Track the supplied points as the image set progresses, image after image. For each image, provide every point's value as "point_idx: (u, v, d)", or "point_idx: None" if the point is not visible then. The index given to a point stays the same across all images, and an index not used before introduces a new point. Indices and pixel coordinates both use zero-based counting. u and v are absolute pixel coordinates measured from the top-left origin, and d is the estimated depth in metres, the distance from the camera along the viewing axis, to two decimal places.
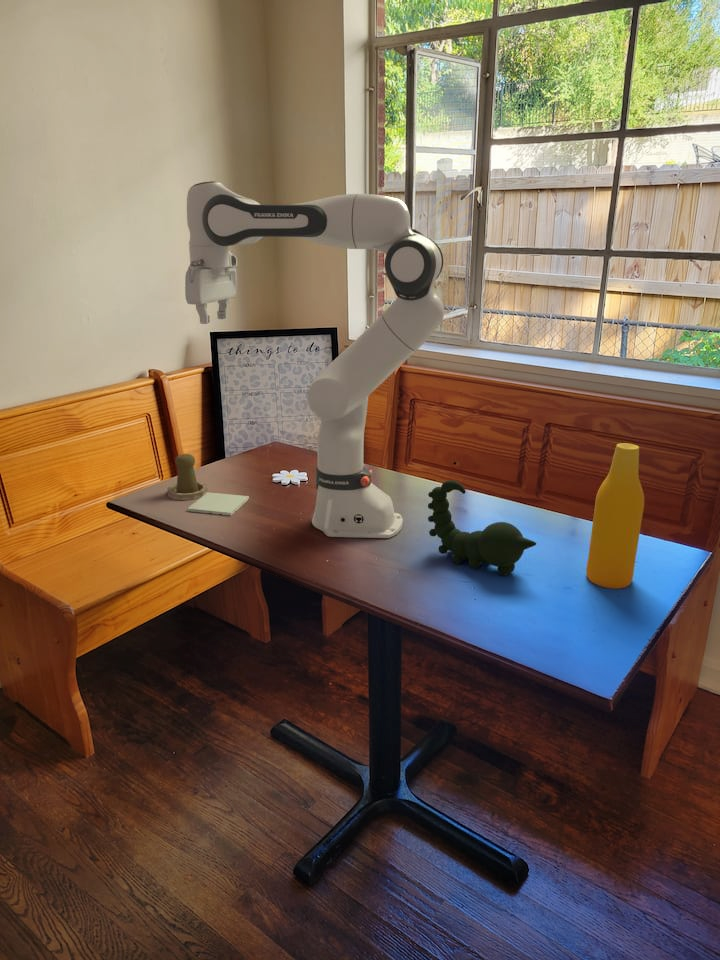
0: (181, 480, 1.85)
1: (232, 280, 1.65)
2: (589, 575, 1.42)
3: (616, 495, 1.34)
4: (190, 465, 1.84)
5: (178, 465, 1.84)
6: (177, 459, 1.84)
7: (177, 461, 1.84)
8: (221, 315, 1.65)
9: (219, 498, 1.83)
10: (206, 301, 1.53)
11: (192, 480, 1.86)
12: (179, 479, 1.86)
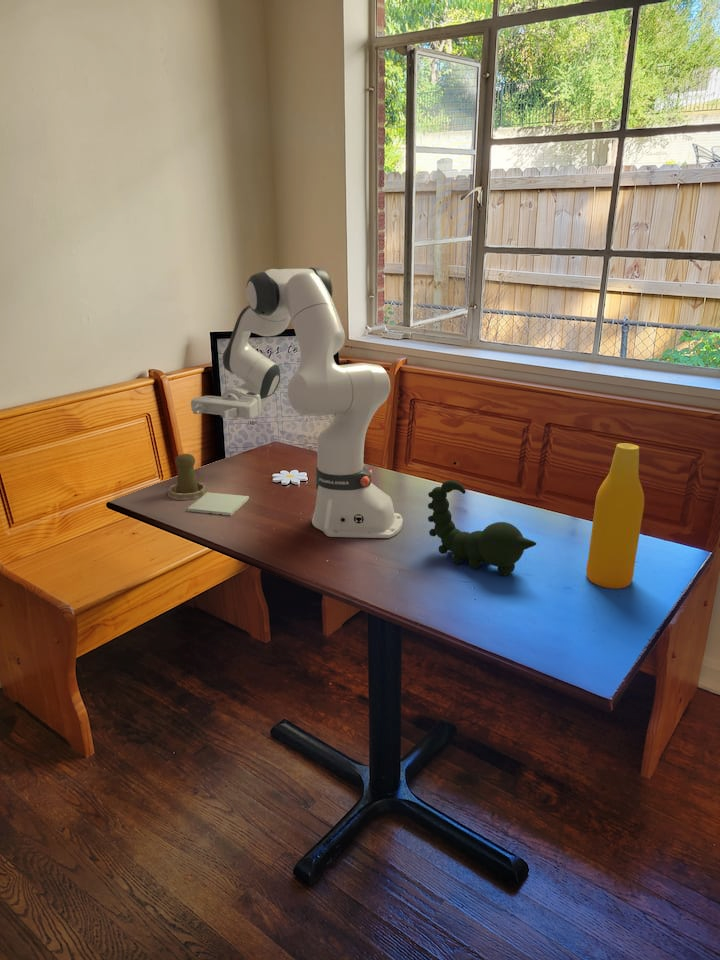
0: (181, 480, 1.85)
1: (249, 402, 1.97)
2: (589, 575, 1.42)
3: (616, 495, 1.34)
4: (190, 465, 1.84)
5: (178, 465, 1.84)
6: (177, 459, 1.84)
7: (177, 461, 1.84)
8: None
9: (219, 498, 1.83)
10: (199, 400, 1.99)
11: (192, 480, 1.86)
12: (179, 479, 1.86)
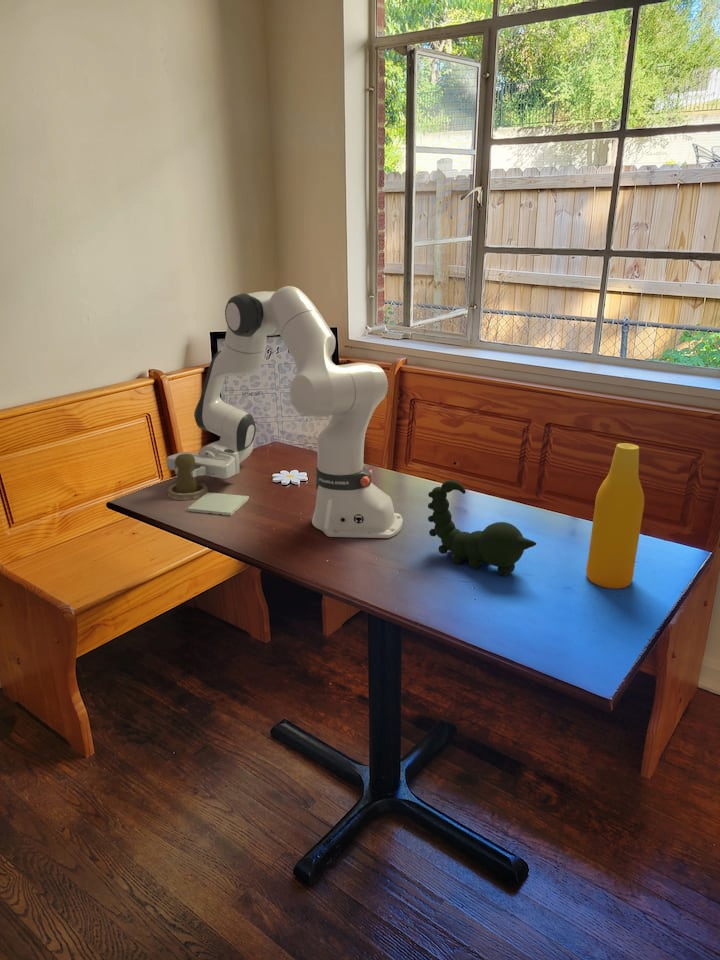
0: (181, 480, 1.85)
1: (226, 461, 1.90)
2: (589, 575, 1.42)
3: (616, 494, 1.34)
4: (190, 465, 1.84)
5: (178, 465, 1.84)
6: (177, 459, 1.84)
7: (177, 461, 1.84)
8: None
9: (219, 498, 1.83)
10: (174, 458, 1.93)
11: (192, 480, 1.86)
12: (179, 479, 1.86)
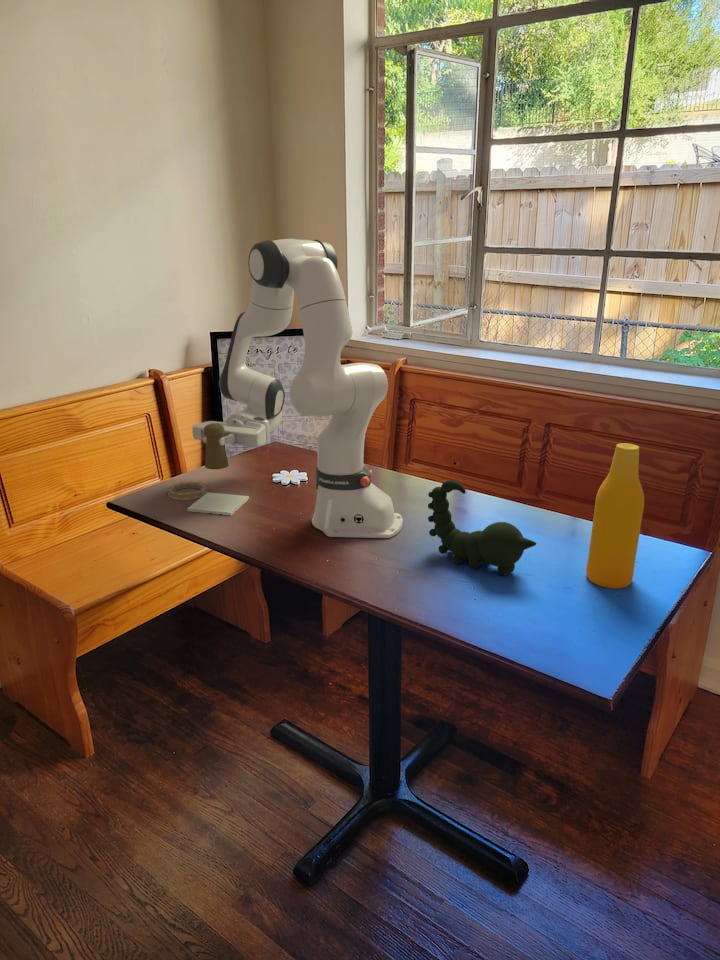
0: (211, 451, 1.74)
1: (256, 429, 1.78)
2: (589, 575, 1.42)
3: (616, 495, 1.34)
4: (220, 434, 1.73)
5: (208, 435, 1.72)
6: (206, 429, 1.72)
7: (207, 431, 1.72)
8: None
9: (219, 498, 1.83)
10: (201, 427, 1.81)
11: (222, 450, 1.75)
12: (209, 450, 1.74)
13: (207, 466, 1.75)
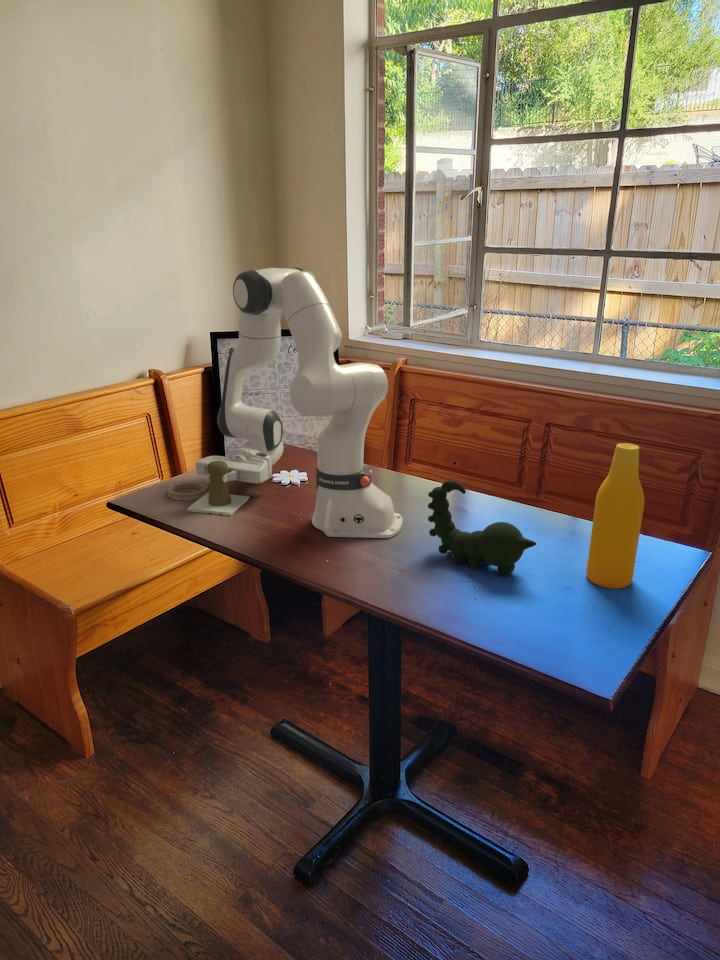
0: (214, 488, 1.77)
1: (258, 465, 1.82)
2: (589, 575, 1.42)
3: (616, 495, 1.34)
4: (224, 472, 1.76)
5: (211, 473, 1.76)
6: (210, 466, 1.76)
7: (210, 468, 1.75)
8: None
9: None
10: (204, 462, 1.84)
11: (226, 487, 1.78)
12: (212, 487, 1.77)
13: (210, 502, 1.78)
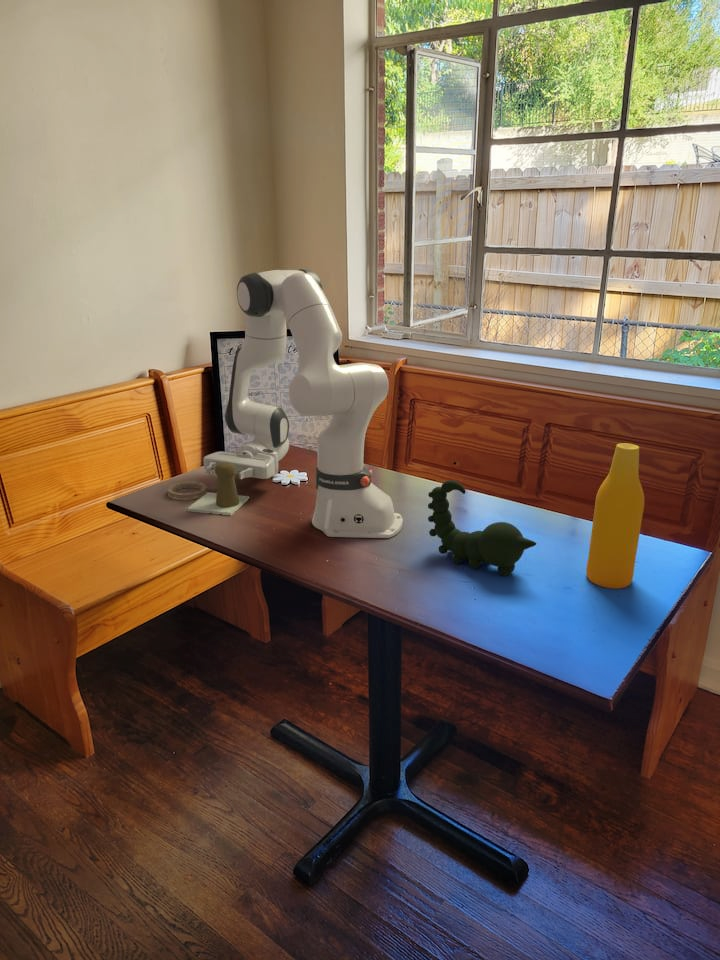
0: (222, 490, 1.76)
1: (265, 461, 1.85)
2: (589, 575, 1.42)
3: (616, 495, 1.34)
4: (232, 474, 1.75)
5: (219, 475, 1.75)
6: (218, 468, 1.74)
7: (218, 470, 1.74)
8: None
9: None
10: (212, 458, 1.87)
11: (234, 489, 1.77)
12: (220, 489, 1.76)
13: (218, 504, 1.78)
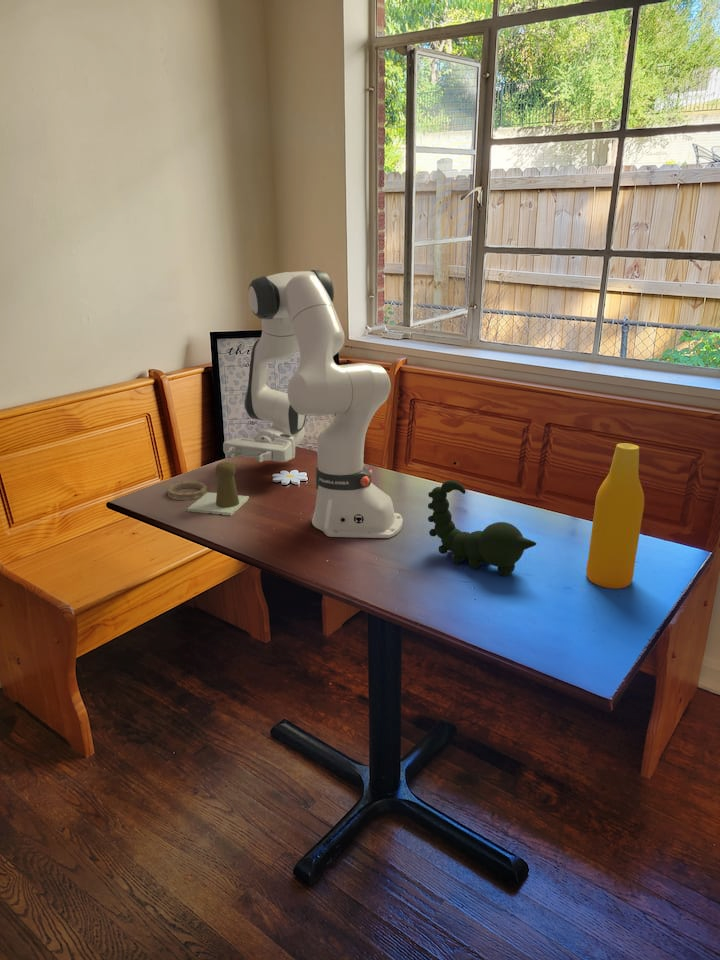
0: (222, 490, 1.76)
1: (283, 445, 1.92)
2: (589, 575, 1.42)
3: (616, 495, 1.34)
4: (232, 474, 1.76)
5: (220, 474, 1.75)
6: (218, 468, 1.75)
7: (219, 470, 1.75)
8: None
9: None
10: (231, 443, 1.94)
11: (234, 489, 1.77)
12: (220, 489, 1.76)
13: (218, 504, 1.78)
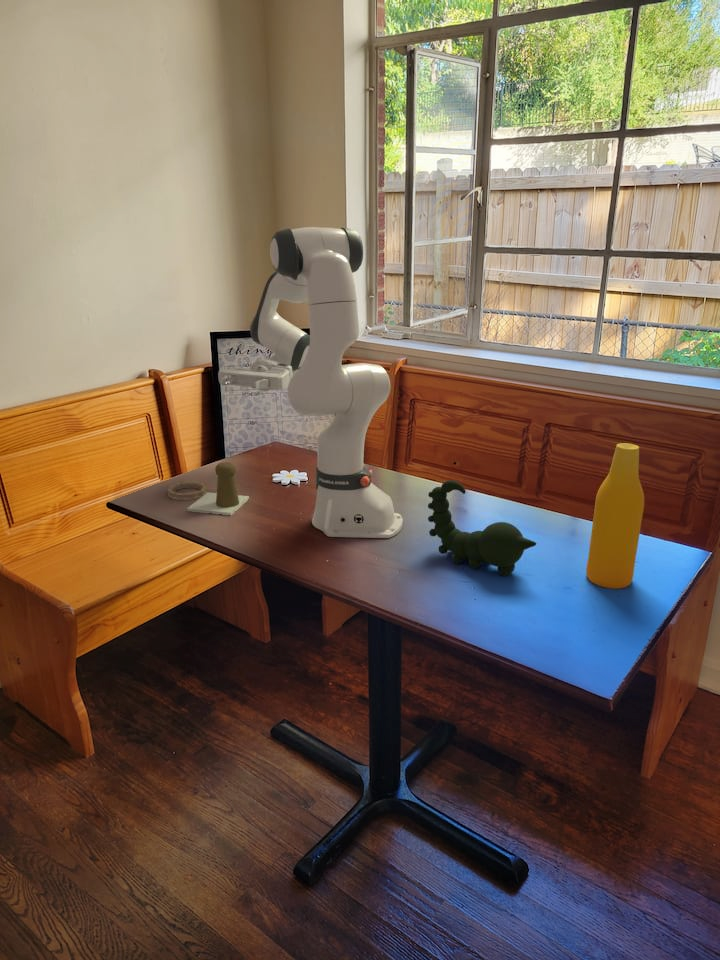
0: (222, 490, 1.76)
1: (280, 373, 1.85)
2: (589, 575, 1.42)
3: (616, 495, 1.34)
4: (232, 474, 1.76)
5: (220, 474, 1.75)
6: (218, 468, 1.75)
7: (219, 470, 1.75)
8: None
9: None
10: (227, 371, 1.88)
11: (234, 489, 1.77)
12: (220, 489, 1.76)
13: (218, 504, 1.78)
